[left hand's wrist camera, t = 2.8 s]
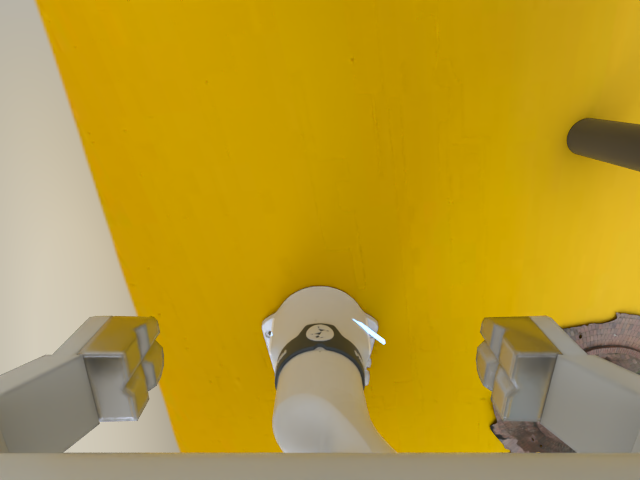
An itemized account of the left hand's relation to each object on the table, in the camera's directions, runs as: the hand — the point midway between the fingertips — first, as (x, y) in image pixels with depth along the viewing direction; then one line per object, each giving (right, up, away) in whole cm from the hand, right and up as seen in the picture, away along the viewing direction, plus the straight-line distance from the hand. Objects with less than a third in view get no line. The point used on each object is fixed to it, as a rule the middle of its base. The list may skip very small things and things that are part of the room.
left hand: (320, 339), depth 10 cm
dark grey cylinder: (+36, +17, +45) cm, 60 cm away
